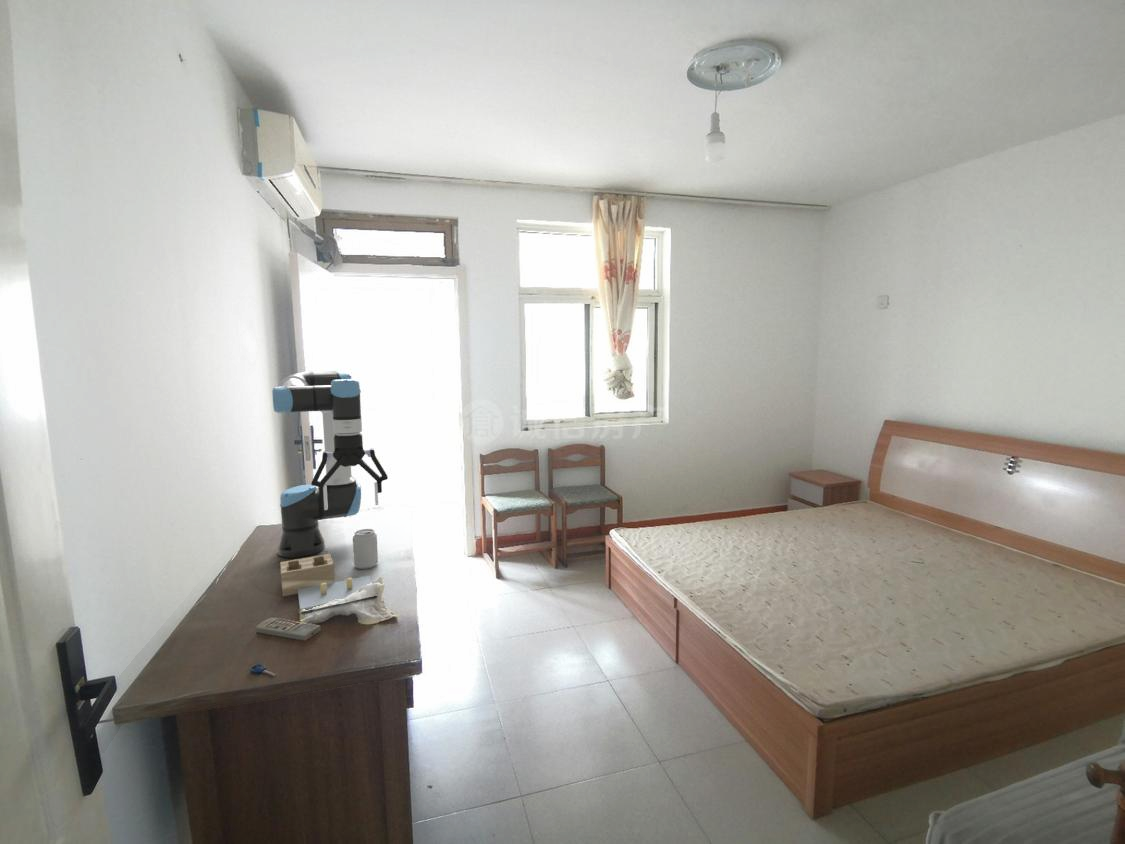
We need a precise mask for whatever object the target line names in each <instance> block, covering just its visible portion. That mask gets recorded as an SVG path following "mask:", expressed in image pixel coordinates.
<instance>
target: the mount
mask: <svg viewBox="0 0 1125 844" xmlns="http://www.w3.org/2000/svg"><path fill="white" fill-rule="evenodd" d="M370 583H373V581H372V579H371V576H370V575H365V576H361V577H355V578H352V577H348V578H346V579H345V580H339V581H334V583H329V584H326V583H321V584H320V585H319V586H313V587H308V588H303V589H298V594H297V596H298V604H299V605H298V606H299V611H300V612H301V610H302V609H305V610H309V609H312V608H313V607H316V606H320V605H323V604H326V603H328V602H329V601H332V600H335V599H343V598H345V597H347V596H348V595H350V594H352V593H354V592H356V591H357V590H358V589H359V588H361V587H362V586H365V585H367V584H370ZM300 612H299V613H300Z"/></svg>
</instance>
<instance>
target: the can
mask: <svg viewBox="0 0 1125 844" xmlns="http://www.w3.org/2000/svg"><path fill="white" fill-rule="evenodd" d="M352 549H353V551H352V552H353V566H354V567H355V568H356V569H359V570H368V569H372V568H375V567H376V565H377V564H378V562H379V555H378V554H379V553H378V535H377V533H376V532H375V530H374V529H373V528H364V529H363V528H362V529H357V530H356V531H355V532H354V535H353V536H352Z"/></svg>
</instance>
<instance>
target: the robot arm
mask: <svg viewBox="0 0 1125 844" xmlns="http://www.w3.org/2000/svg"><path fill="white" fill-rule="evenodd" d="M360 387H361V386H360V381H359V380H358V379H354V378H353V377H352V375H351V373H350V372H348V371H344V370H343V371H341V370H329V371H327V370H322V371H321V370H319V371H310V370H309V371H299V372H296V373H292V374H290V375H287V376H285V377H283V378H282V379H281V380H280V381H279V383H278V385H277V386H275V387H273V388H272V391H271V392H272V406H273V407H272V408H273V411H274V412H275V413H277V414H278V413H282V414H283V413H285V414H291V413H304V412H321V414H322V427H323V440H324V441H323V443H324V451H323V452H322V456H321V457H322V460H321V462H320V464H319V466H318V468H317V470H316V472H315V475H314V477H313V479H312V481H311V483H309V484H301V485H297V486H293V487H289V488H288V489H285V490H284V491H282V493H281V494H280V502H279V503H280V504H279V507H280V515H281V529H282V530H281V536H280V540H279V544H278V546H277V547H278V548H277V553H278V556H280V557H281V558H290V559H291V558H292V559H293V558H304V557H307V556H308V557H309V556H311V555H315V554H318V553H320V552H321V550H322V551H323V550H324V549H325V548H324V547H326V545H325V539H324V537H323V534H322V532H321V530H320V527H319V521H321V520H322V521H325V520H329V519H338V518H347V517H351V516H356V515H357V514H358V513H360V512H359V511H360V510H361V509H360V507H361V501H362V500H361V499H362V487H361V484H360V483H357V479H356V478H355V477H354V476H352V475H353V474H352V467H356V466H358V465H359V466H360V467H361V468H362V469H363V470H365V471H366V472H367V473H368V474H369V476H371V477H372V478H373V479H374V481H373V483H374V484H373V485H374V503H375V504H374V505H375V506H378V505H379V494H381V493H382V492H383V490H382V489H383V487H382V482H383V481H386V480H388V474H387V472H386V471H385V470H384V468H383V466H382V465H381V462H380V461H379V459H378V458H377V455H376V452H375V448H373V447H371V448H370V449H364V445H363V444H364V443H363V441H364V440H363V434H362V433H361V432H362V431H363V428H362V427H363V426H362V425H363V422H362V409H361V408H362V407H361V406H362V405H361V388H360ZM365 455H367V457H368V458H371V461H372V462H373V464H374V465H375V467H376V468H377V470H378V472H379V475H378V474H377V472H375V470H373V469H372V468H371V467H370V466H369V465H368V464H367V463H366V462H365V460H364V459H363V458H364V457H365ZM324 468H325V473H326V474H325V475H324V476H323V478H321V480H320V481H319V478H320V477H321V474H322V472H323V470H324Z"/></svg>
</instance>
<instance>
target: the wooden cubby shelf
mask: <svg viewBox="0 0 1125 844" xmlns="http://www.w3.org/2000/svg"><path fill="white" fill-rule="evenodd" d="M334 570H335V569H334V562H333V559H332V556H331V553H326V554H320V555H313V556H308V557H307V556H306V557H300V558H296V559H291V560H290V559H289V560H286V561H285V560H284V561H280V576H281V577H280V578H281V579H280V581H281V591H282V592H281V593H282V594H281V595H282V597H288V596H292V595H298V589H303V588H308V587H313V586H319V585H320V584H321V583H326V584H329V583H334V582H335V571H334Z"/></svg>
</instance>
